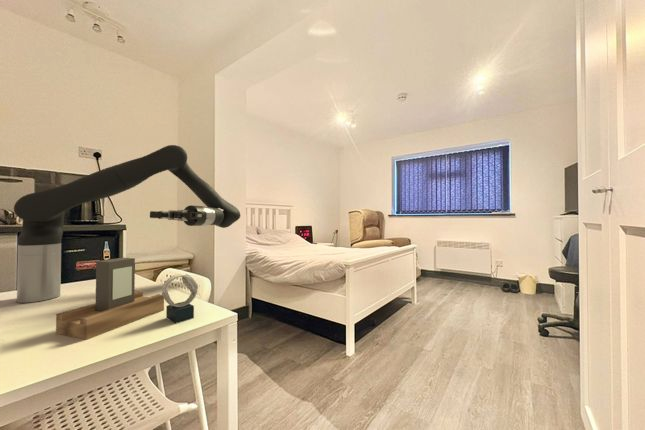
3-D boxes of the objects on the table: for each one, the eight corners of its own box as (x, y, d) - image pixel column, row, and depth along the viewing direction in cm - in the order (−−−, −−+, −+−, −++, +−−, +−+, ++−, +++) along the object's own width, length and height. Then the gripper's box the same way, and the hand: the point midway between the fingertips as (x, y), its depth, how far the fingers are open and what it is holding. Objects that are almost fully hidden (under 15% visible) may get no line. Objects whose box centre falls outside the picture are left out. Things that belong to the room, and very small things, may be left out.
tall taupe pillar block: (95, 311, 61) (96, 261, 61) (121, 303, 66) (122, 257, 67) (108, 313, 59) (109, 262, 59) (134, 305, 65) (135, 258, 65)
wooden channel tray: (55, 333, 56) (56, 314, 56) (137, 306, 73) (137, 291, 73) (86, 339, 53) (86, 319, 53) (164, 309, 70) (164, 294, 70)
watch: (201, 315, 66) (201, 273, 66) (167, 326, 59) (167, 279, 59) (191, 310, 69) (191, 270, 69) (158, 320, 63) (158, 275, 63)
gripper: (185, 206, 98) (144, 203, 83) (215, 205, 94) (177, 202, 78) (184, 225, 98) (143, 226, 83) (214, 226, 94) (177, 226, 78)
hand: (160, 214), depth 80 cm, fingers open, 8 cm apart
